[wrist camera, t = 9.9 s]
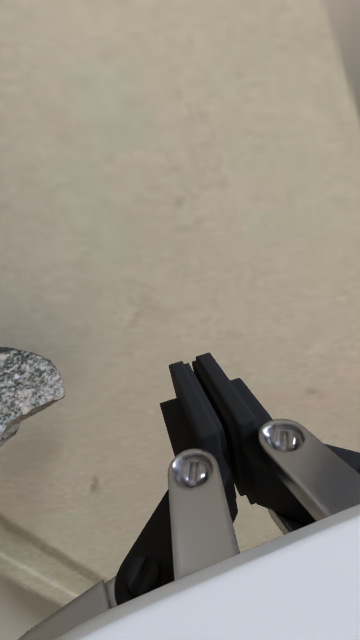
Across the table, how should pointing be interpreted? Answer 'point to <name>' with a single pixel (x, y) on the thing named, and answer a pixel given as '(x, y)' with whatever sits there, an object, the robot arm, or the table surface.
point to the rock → (25, 388)
